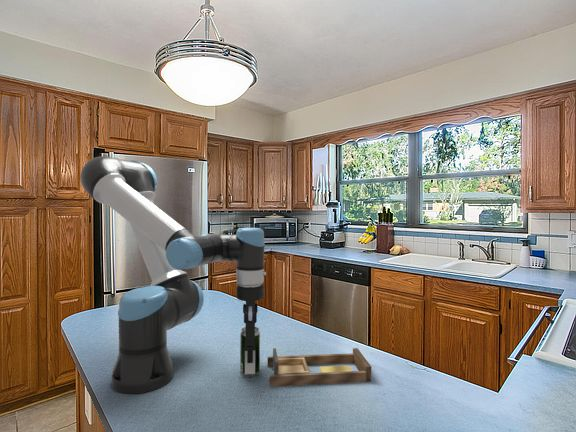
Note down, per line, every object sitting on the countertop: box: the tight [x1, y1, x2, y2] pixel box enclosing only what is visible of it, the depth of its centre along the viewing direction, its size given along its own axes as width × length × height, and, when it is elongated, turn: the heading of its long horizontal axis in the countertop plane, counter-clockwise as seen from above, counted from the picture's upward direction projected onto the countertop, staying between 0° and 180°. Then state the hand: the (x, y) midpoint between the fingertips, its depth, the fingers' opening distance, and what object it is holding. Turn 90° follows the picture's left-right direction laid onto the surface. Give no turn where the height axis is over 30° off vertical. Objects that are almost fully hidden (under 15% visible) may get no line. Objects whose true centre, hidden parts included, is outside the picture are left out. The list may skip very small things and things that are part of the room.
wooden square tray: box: [272, 347, 310, 375], centre depth 94 cm, size 9×9×5 cm
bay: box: [266, 347, 372, 388], centre depth 94 cm, size 27×12×4 cm, turn 96°
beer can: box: [239, 326, 261, 378], centre depth 94 cm, size 5×5×12 cm
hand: (250, 367), depth 94 cm, fingers open, 6 cm apart
